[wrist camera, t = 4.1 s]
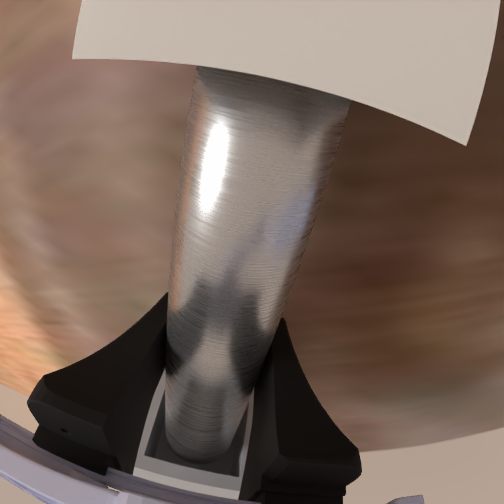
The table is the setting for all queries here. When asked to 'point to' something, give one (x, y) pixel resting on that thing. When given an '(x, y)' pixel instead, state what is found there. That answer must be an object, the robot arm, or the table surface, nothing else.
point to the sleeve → (317, 47)
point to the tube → (238, 242)
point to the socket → (185, 473)
